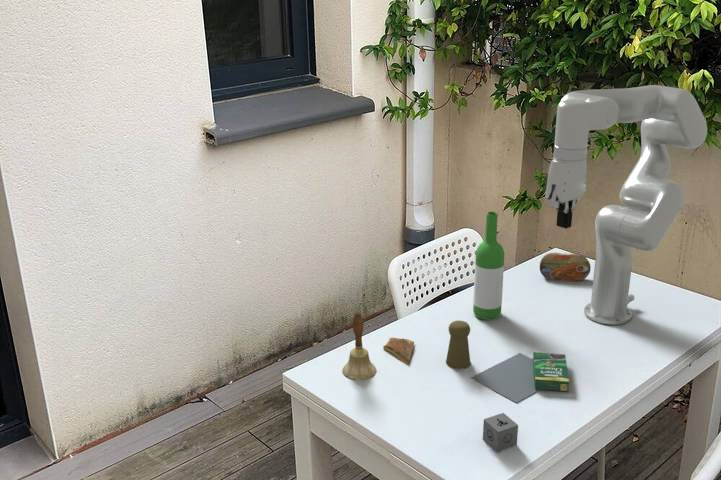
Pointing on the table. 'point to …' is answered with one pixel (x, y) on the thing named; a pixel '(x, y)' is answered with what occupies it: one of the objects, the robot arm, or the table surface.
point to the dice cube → (500, 432)
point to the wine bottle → (489, 273)
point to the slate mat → (510, 378)
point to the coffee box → (550, 371)
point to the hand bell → (358, 355)
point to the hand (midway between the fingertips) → (563, 226)
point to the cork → (458, 345)
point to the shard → (400, 348)
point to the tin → (564, 266)
